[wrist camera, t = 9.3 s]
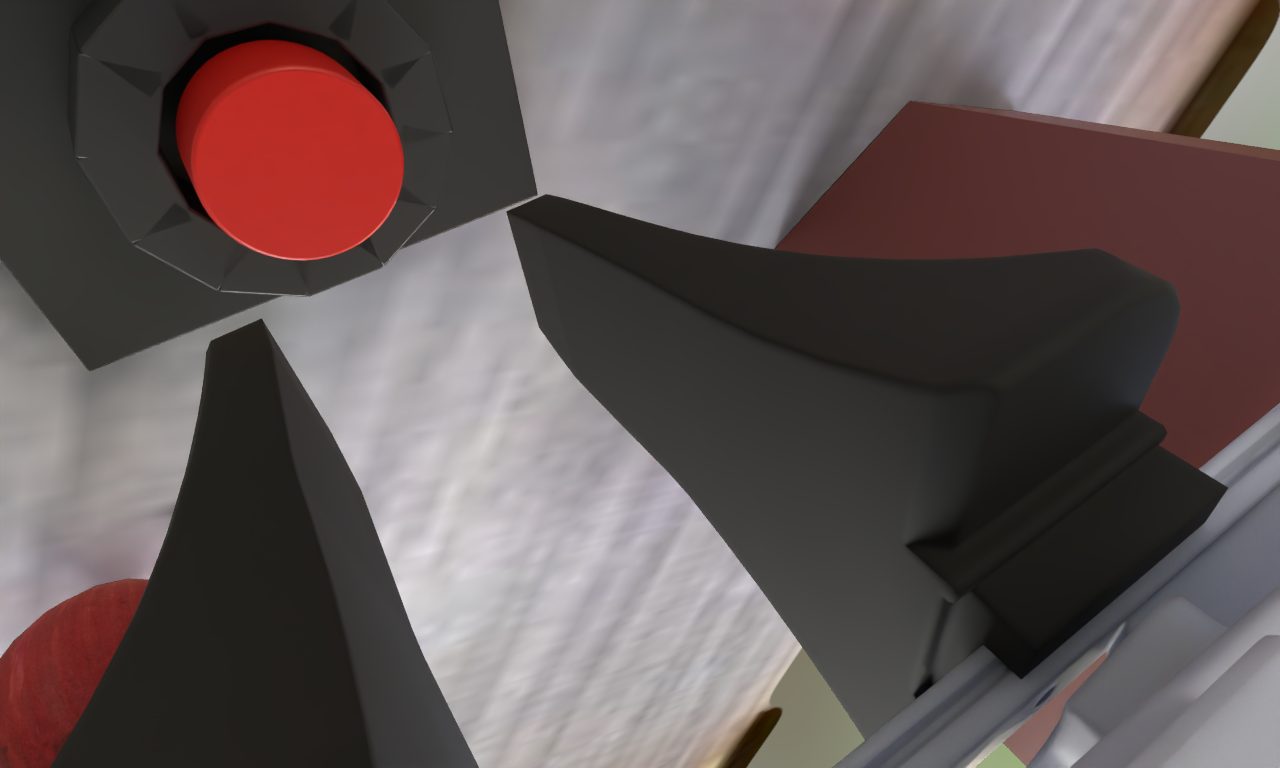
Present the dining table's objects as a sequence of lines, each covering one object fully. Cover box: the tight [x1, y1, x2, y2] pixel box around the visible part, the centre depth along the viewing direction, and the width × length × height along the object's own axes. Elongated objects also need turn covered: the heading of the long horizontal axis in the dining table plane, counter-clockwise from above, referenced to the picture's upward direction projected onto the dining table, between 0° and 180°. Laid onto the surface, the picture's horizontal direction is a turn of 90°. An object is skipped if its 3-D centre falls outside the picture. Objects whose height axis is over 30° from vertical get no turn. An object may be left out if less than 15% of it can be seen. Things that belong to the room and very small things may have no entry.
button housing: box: [0, 0, 538, 371], centre depth 16 cm, size 11×8×4 cm
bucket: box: [775, 101, 1280, 766], centre depth 28 cm, size 24×22×25 cm
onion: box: [0, 579, 149, 768], centre depth 20 cm, size 6×6×8 cm
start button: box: [176, 40, 404, 260], centre depth 14 cm, size 4×4×2 cm
